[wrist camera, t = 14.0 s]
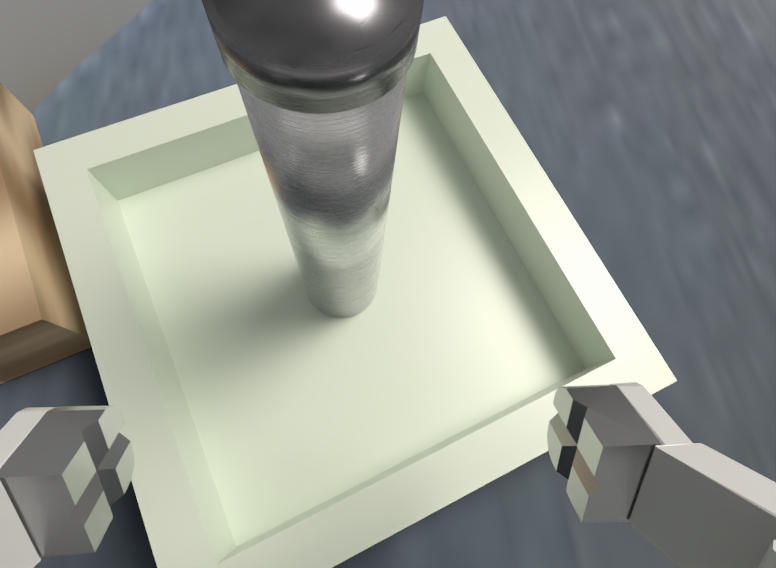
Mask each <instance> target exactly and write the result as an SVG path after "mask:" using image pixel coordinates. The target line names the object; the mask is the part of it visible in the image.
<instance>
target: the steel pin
mask: <svg viewBox="0 0 776 568" xmlns="http://www.w3.org/2000/svg"><path fill="white" fill-rule="evenodd" d="M202 3H203V6H204V8H205V11H206V14H207V17H208V20H209V23H210V25H211V28H212V31H213V34H214V37H215V40H216V43H217V45H218V48H219V51H220V54H221V57H222V59H223V62H224V63H225V65H226V67H227V69H228V71H229V72H230V73H231V74H232V76H233V77H234V78H235V80H236V82H237V85H238V88H239V91H240V94H241V97H242V100H243V103H244V106H245V109H246V112H247V115H248V118H249V121H250V124H251V127H252V130H253V133H254V136H255V139H256V142H257V145H258V148H259V151H260V154H261V157H262V160H263V163H264V166H265V169H266V172H267V175H268V178H269V181H270V184H271V187H272V190H273V193H274V196H275V199H276V202H277V205H278V208H279V211H280V214H281V217H282V220H283V223H284V226H285V229H286V232H287V235H288V238H289V241H290V244H291V247H292V250H293V253H294V256H295V259H296V262H297V265H298V268H299V271H300V274H301V277H302V280H303V283H304V286H305V289H306V292H307V294H308V297H309V299H310V301H311V303H312V304H313V305H314V306H315V307H316V308H317V309H318V310H319V311H320V312H322V313H324V314H326V315H328V316H331V317H336V318H348V317H352V316H355V315H357V314H359V313H361V312H362V311H364V310H365V309H366V308H367V307H368V306H369V305H370V304H371V303H372V301H373V300H374V297H375V295H376V292H377V287H378V279H379V272H380V265H381V258H382V250H383V243H384V236H385V229H386V221H387V214H388V207H389V200H390V192H391V185H392V178H393V171H394V163H395V156H396V149H397V142H398V134H399V127H400V120H401V113H402V105H403V98H404V91H405V84H406V76H407V71H408V69H409V68H410V66H411V64H412V62H413V59H414V56H415V53H416V48H417V42H418V35H419V29H420V22H421V16H422V9H423V3H424V0H202Z"/></svg>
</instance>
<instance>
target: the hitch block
mask: <svg viewBox="0 0 776 568" xmlns="http://www.w3.org/2000/svg"><path fill="white" fill-rule="evenodd" d="M42 147H43V144H42V141H41V138H40V135H39V131H38V128H37V125H36V121H35V118H34V116H33V115H32V114H31V113H30V112H29V111H28V110H27V109H26V108H25V107H24V106H23V105H22V104H21V103H20V102H19V101H18V100H17V99H16V98H15V97H14V96H13V95H12V94H11V93H10V92H9V91H8V90H7V89H6V88H5V87H4V86H3V85H2V84H1V83H0V384H2V383H5V382H7V381H10V380H12V379H15V378H17V377H20V376H22V375H25V374H27V373H29V372H32V371H34V370H37V369H39V368H42V367H44V366H47V365H49V364H52V363H54V362H56V361H59V360H61V359H64V358H66V357H69V356H71V355H74V354H76V353H79V352H81V351H83V350H86V349H88V348H91V347H92V346H91V343H90V340H89V336H88V333H87V330H86V326H85V323H84V320H83V316H82V313H81V309H80V306H79V303H78V299H77V296H76V293H75V289H74V286H73V283H72V279H71V276H70V272H69V269H68V266H67V262H66V259H65V256H64V252H63V249H62V245H61V242H60V239H59V235H58V232H57V229H56V225H55V222H54V219H53V215H52V212H51V208H50V205H49V202H48V198H47V195H46V192H45V188H44V185H43V182H42V178H41V175H40V171H39V168H38V165H37V161H36V158H35V155H34V151H33V150H35V149H38V148H42Z"/></svg>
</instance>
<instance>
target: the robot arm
mask: <svg viewBox="0 0 776 568" xmlns="http://www.w3.org/2000/svg"><path fill="white" fill-rule="evenodd" d="M553 405H554V406H555V408H556V410H557V412H558V413H557V414H556V415H555V416H554V417H553V418H552V419H551V420H550V421H549V425H548V431H547V442H548V450H549V454H550V457H551V461H552V463H553V465H554V467H555V469H556V471H557V472H558V473H560V474H561V475H562V476H564V477H565V478H567V479H568V485H567V489H566V492H567V494H568V496H569V498H570V500H571V502H572V504H573V506H574V508H575V510H576V512H577V514H578V516H579V518H580V520H581V522H582V523H585V522H616V521H629V522H628V524H629V525H630V526H631V527H633V528H634V529H635V530H636V531H637V532H638V533H640V534H641V535H642V536H643V537H644V538H645V539H646V540H648V541H649V542H650V543H651V544H652V545H653V546H655V547H656V548H657V549H658V550H659V551H660V552H661V553H663V554H664V555H665V556H666V557H667V558H668V559H669V560H671V561H672V562H673V563H674V564H675V565H676V566H678V567H679V568H776V483H775V482H773V481H771V480H770V479H768V478H766V477H764V476H762V475H760V474H758V473H756V472H755V471H753V470H751V469H749V468H747V467H745V466H743V465H741V464H739V463H738V462H736V461H734V460H732V459H730V458H728V457H726V456H724V455H723V454H721V453H719V452H717V451H715V450H713V449H711V448H709V447H707V446H706V445H704V444H702V443H697V444H693V443H692V442H691V441H690V439H689V438H688V437H687V436H686V435H685V434H684V433H683V431H682V430H681V429H680V428H679V427H678V426H677V424H676V423H675V422H674V421H673V420H672V419H671V417H670V416H669V415H668V414H667V413H666V412H665V411H664V409H663V408H662V407H661V406H660V405H659V404H658V402H657V401H656V400H655V399H654V398H653V397H652V396H651V394H650V393H649V392H648V391H647V390H646V389H645V387H644V386H642V385H641V384H639V383H637V382H630V383H615V384H610V385H588V386H567V387H559V388H558V389H557V391H556V393H555V396H554V401H553ZM124 423H125V422H124V420H123V417H122V414H121V412H120V409H119V408H117V407H115V406H63V407H38V408H25V409H23V410H21V411H18V412H17V413H16V414H15V415H14V416H13V417H12V418H11V419H10V421H9V422H8V423H7V424H6V425H5V426H4V427H3V428H2V429H1V430H0V568H33V567H34V566H36V565H37V564H38V563H39V562H40V561H41V559H40V558H42V557H53V556H64V555H75V554H86V553H95V552H96V550H97V548H98V546H99V544H100V542H101V540H102V538H103V536H104V534H105V532H106V530H107V528H108V526H109V524H110V522H111V520H112V518H113V515H112V512H111V509H110V505H112V504H113V503H114V502H115V501H117V500H118V499H119V498H121V497H122V496H123V495H124V494H125V492H126V490H127V488H128V486H129V483H130V481H131V478H132V473H133V468H134V451H133V448H132V444H131V441H130V440H129V439H127V438H126V437H125V436H123V435H122V434H121V433H119V431H120V429H121V428H122V426H123V424H124Z"/></svg>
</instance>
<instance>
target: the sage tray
mask: <svg viewBox="0 0 776 568" xmlns="http://www.w3.org/2000/svg"><path fill="white" fill-rule="evenodd" d="M33 151H34V155H35V158H36V161H37V165H38V168H39V171H40V175H41V178H42V182H43V185H44V188H45V192H46V195H47V198H48V202H49V205H50V208H51V212H52V215H53V219H54V222H55V225H56V229H57V232H58V235H59V239H60V242H61V245H62V249H63V252H64V256H65V259H66V262H67V266H68V269H69V272H70V276H71V279H72V283H73V286H74V289H75V293H76V296H77V299H78V303H79V306H80V309H81V313H82V316H83V320H84V323H85V326H86V330H87V333H88V336H89V340H90V343H91V346H92V350H93V353H94V357H95V360H96V363H97V367H98V370H99V373H100V377H101V380H102V383H103V387H104V390H105V394H106V397H107V400H108V404H109V406H115V407H117V408H119V409H120V412H121V414H122V417H123V420H124V422H125V423H124V424H123V426H122V428H121V429H120V431H119V433H121V434H122V435H123V436H125V437H126V438H127V439H129V440H130V441H131V444H132V448H133V451H134V468H133V473H132V478H131V481H132V484H133V488H134V491H135V494H136V498H137V501H138V505H139V508H140V511H141V515H142V518H143V521H144V525H145V528H146V531H147V535H148V538H149V542H150V545H151V548H152V552H153V555H154V558H155V562H156V565H157V568H332V567H334V566H336V565H338V564H339V563H341V562H343V561H345V560H347V559H349V558H351V557H352V556H354V555H356V554H358V553H360V552H362V551H363V550H365V549H367V548H369V547H371V546H373V545H375V544H376V543H378V542H380V541H382V540H384V539H386V538H388V537H389V536H391V535H393V534H395V533H397V532H399V531H400V530H402V529H404V528H406V527H408V526H410V525H412V524H413V523H415V522H417V521H419V520H421V519H423V518H424V517H426V516H428V515H430V514H432V513H434V512H436V511H437V510H439V509H441V508H443V507H445V506H447V505H448V504H450V503H452V502H454V501H456V500H458V499H460V498H461V497H463V496H465V495H467V494H469V493H471V492H472V491H474V490H476V489H478V488H480V487H482V486H484V485H485V484H487V483H489V482H491V481H493V480H495V479H496V478H498V477H500V476H502V475H504V474H506V473H508V472H509V471H511V470H513V469H515V468H517V467H519V466H520V465H522V464H524V463H526V462H528V461H530V460H532V459H533V458H535V457H537V456H539V455H541V454H543V453H545V452H546V451H548V442H547V431H548V425H549V421H550V420H551V419H552V418H553V417H554V416H555V415H556V414H557V413H558V412H557V410H556V408H555V406H554V405H553V401H554V396H555V393H556V391H557V389H558V388H559V387H567V386H588V385H610V384H615V383H630V382H637V383H639V384H641V385H642V386H644V387H645V389H646V390H647V391H648V392H649V393H650V394H651V395H652V394H653V393H655V392H657V391H659V390H661V389H663V388H665V387H666V386H668V385H670V384H672V383H674V382H676V381H677V380H676V378H675V377H674V375H673V373H672V372H671V370H670V369H669V367H668V366H667V364H666V362H665V361H664V359H663V358H662V356H661V355H660V353H659V351H658V350H657V348H656V347H655V345H654V344H653V342H652V340H651V339H650V337H649V336H648V334H647V332H646V331H645V329H644V328H643V326H642V325H641V323H640V321H639V320H638V318H637V317H636V315H635V314H634V312H633V310H632V309H631V307H630V306H629V304H628V303H627V301H626V299H625V298H624V296H623V295H622V293H621V292H620V290H619V288H618V287H617V285H616V284H615V282H614V281H613V279H612V277H611V276H610V274H609V273H608V271H607V269H606V268H605V266H604V265H603V263H602V262H601V260H600V258H599V257H598V255H597V254H596V252H595V251H594V249H593V247H592V246H591V244H590V243H589V241H588V240H587V238H586V236H585V235H584V233H583V232H582V230H581V229H580V227H579V225H578V224H577V222H576V221H575V219H574V218H573V216H572V214H571V213H570V211H569V210H568V208H567V206H566V205H565V203H564V202H563V200H562V199H561V197H560V195H559V194H558V192H557V191H556V189H555V188H554V186H553V184H552V183H551V181H550V180H549V178H548V177H547V175H546V173H545V172H544V170H543V169H542V167H541V166H540V164H539V162H538V161H537V159H536V158H535V156H534V155H533V153H532V151H531V150H530V148H529V147H528V145H527V143H526V142H525V140H524V139H523V137H522V136H521V134H520V132H519V131H518V129H517V128H516V126H515V125H514V123H513V121H512V120H511V118H510V117H509V115H508V114H507V112H506V110H505V109H504V107H503V106H502V104H501V103H500V101H499V99H498V98H497V96H496V95H495V93H494V92H493V90H492V88H491V87H490V85H489V84H488V82H487V80H486V79H485V77H484V76H483V74H482V73H481V71H480V69H479V68H478V66H477V65H476V63H475V62H474V60H473V58H472V57H471V55H470V54H469V52H468V51H467V49H466V47H465V46H464V44H463V43H462V41H461V40H460V38H459V36H458V35H457V33H456V32H455V30H454V29H453V27H452V25H451V24H450V22H449V21H448V19H447V17H446V16H445V17H442V18H439V19H436V20H433V21H430V22H426V23H423V24H420V29H419V35H418V42H417V48H416V53H415V56H414V59H413V62H412V64H411V66H410V68H409V69H408V71H407V76H406V84H405V91H404V98H403V105H402V113H401V120H400V127H399V134H398V142H397V149H396V156H395V163H394V171H393V178H392V185H391V192H390V200H389V207H388V214H387V221H386V229H385V236H384V243H383V250H382V258H381V265H380V272H379V279H378V287H377V292H376V295H375V297H374V300H373V301H372V303H371V304H370V305H369V306H368V307H367V308H366V309H365V310H364V311H362V312H361V313H359V314H357V315H355V316H352V317H348V318H336V317H331V316H328V315H326V314H324V313H322V312H320V311H319V310H318V309H317V308H316V307H315V306H314V305H313V304H312V303H311V301H310V299H309V297H308V294H307V292H306V289H305V286H304V283H303V280H302V277H301V274H300V271H299V268H298V265H297V262H296V259H295V256H294V253H293V250H292V247H291V244H290V241H289V238H288V235H287V232H286V229H285V226H284V223H283V220H282V217H281V214H280V211H279V208H278V205H277V202H276V199H275V196H274V193H273V190H272V187H271V184H270V181H269V178H268V175H267V172H266V169H265V166H264V163H263V160H262V157H261V154H260V151H259V148H258V145H257V142H256V139H255V136H254V133H253V130H252V127H251V124H250V121H249V118H248V115H247V112H246V109H245V106H244V103H243V100H242V97H241V94H240V91H239V88H238V85H237V84H236V85H232V86H229V87H226V88H223V89H220V90H217V91H214V92H211V93H208V94H205V95H202V96H199V97H196V98H192V99H189V100H186V101H183V102H180V103H177V104H174V105H171V106H168V107H165V108H162V109H159V110H156V111H152V112H149V113H146V114H143V115H140V116H137V117H134V118H131V119H128V120H125V121H122V122H119V123H115V124H112V125H109V126H106V127H103V128H100V129H97V130H94V131H91V132H88V133H85V134H82V135H79V136H75V137H72V138H69V139H66V140H63V141H60V142H57V143H54V144H51V145H48V146H45V147H42V148H38V149H35V150H33Z"/></svg>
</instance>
